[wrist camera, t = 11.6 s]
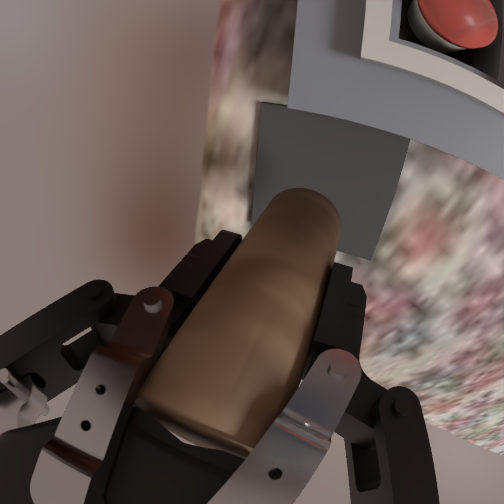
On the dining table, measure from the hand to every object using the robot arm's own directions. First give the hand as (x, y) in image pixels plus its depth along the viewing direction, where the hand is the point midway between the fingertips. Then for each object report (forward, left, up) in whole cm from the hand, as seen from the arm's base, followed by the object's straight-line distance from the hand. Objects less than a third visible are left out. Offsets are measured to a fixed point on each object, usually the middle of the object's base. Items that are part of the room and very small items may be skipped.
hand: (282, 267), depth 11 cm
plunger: (-5, -12, -9) cm, 16 cm away
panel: (-5, -12, -9) cm, 16 cm away
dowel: (0, 0, -3) cm, 3 cm away
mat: (0, 0, -9) cm, 9 cm away
